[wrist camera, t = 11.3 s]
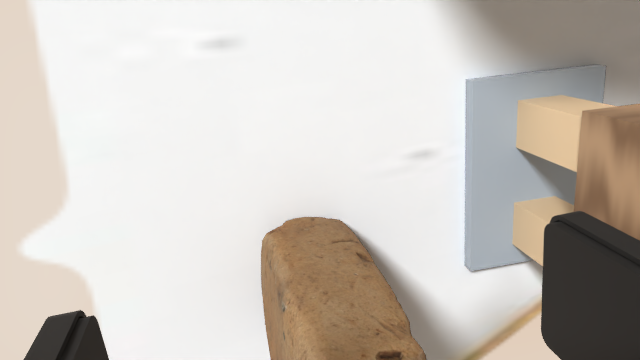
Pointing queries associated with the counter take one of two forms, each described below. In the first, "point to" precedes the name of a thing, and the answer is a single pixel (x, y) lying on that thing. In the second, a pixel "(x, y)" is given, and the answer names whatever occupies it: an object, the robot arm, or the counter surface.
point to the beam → (610, 167)
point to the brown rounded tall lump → (329, 297)
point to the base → (522, 158)
